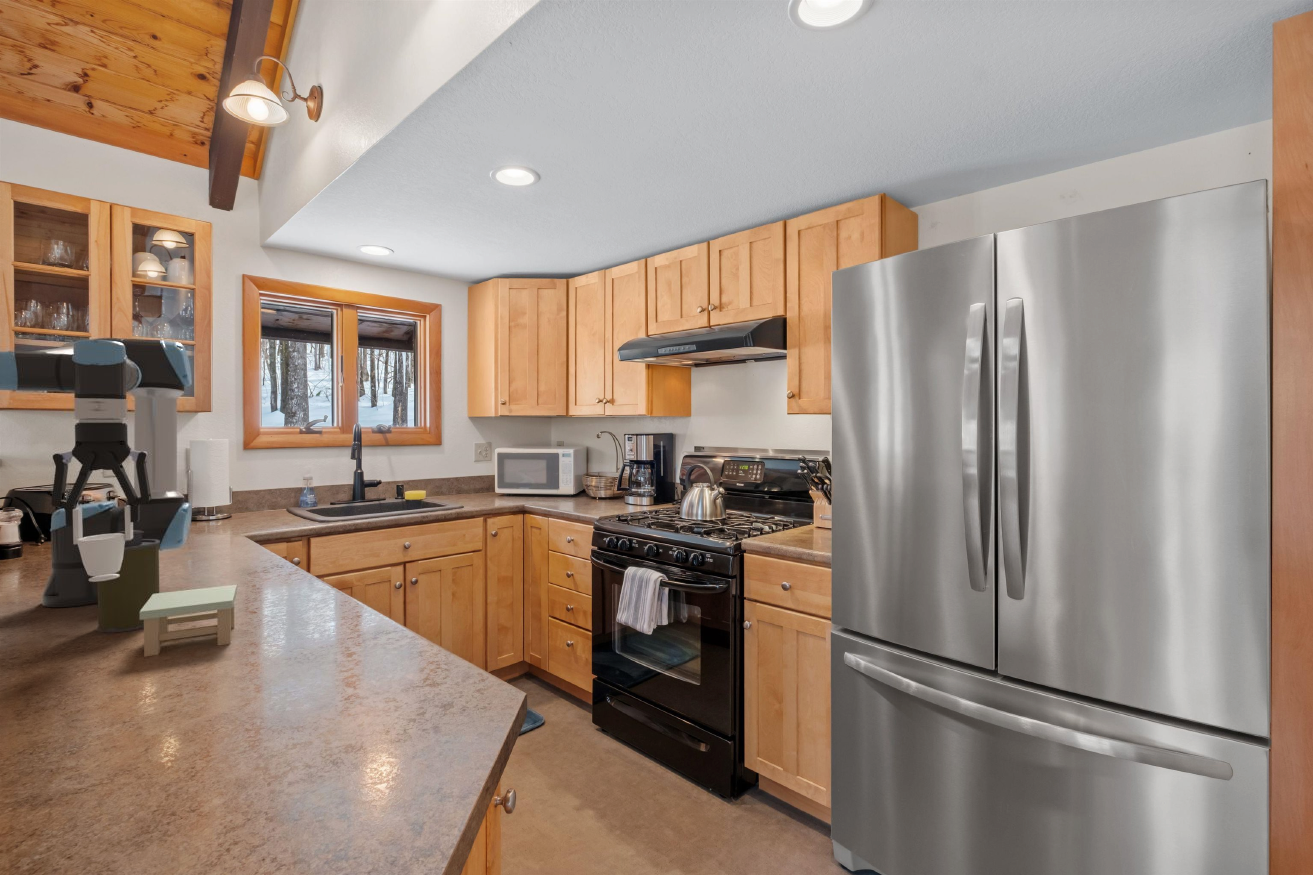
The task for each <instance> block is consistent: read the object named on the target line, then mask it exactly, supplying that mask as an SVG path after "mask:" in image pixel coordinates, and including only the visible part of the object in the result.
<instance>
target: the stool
mask: <svg viewBox="0 0 1313 875" xmlns="http://www.w3.org/2000/svg"><path fill="white" fill-rule="evenodd" d="M237 593H238V584H232V585H230V584H229V585H220V586H213V587H212V586H211V587H204V588H196V589H193V588H192V589H187V590H185V589H184V590H178V591H177V590H176V591H167V592H159V593H157V594H153V595H152V596H151V597H150V599H149V600H148V601H147V603H146V604H145V605H144V607H143V608H142V609H141V610H140V620H143V619H144V628H143V644H144V645H143V648H144V649H143V650H144V653H143V654H144V655H143V656H144V658H145V657H151V656H158V655H159V654H160V652H161V642H163V641H169V640H173V639H174V640H175V639H182V638H191V637H196V636H197V637H198V636H203V635H209V634H217V646H224V645H230V644H231V642H232V629H234V628H235V601H236V597H237ZM214 619H215V620H216V619H217V623H216V624H215V625H207V626H199V627H192V628H185V629H177V630H171V631H170V625H176V624H185V623H190V622H191V623H192V622H198V621H199V622H200V621H206V620H214Z"/></svg>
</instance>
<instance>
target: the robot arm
mask: <svg viewBox="0 0 1313 875" xmlns="http://www.w3.org/2000/svg"><path fill="white" fill-rule="evenodd" d="M192 378H193V377H192V370H191V365H190V360H189V356H188V352H187V351H186V347H185V346H184V345H183V344H182V343H180V342H178V341H173V340H172V341H171V340H163V339H142V338H141V339H137V338H118V337H100V338H99V337H98V338H91V339H78V340H76V341H70V342H67V343H64V344H62V345H61V346H59V347H58V348H56V347H55V348H50V349H49V348H47V349H42V350H33V351H13V350H8V351H7V350H6V351H5V350H1V351H0V391H12V392H17V391H18V392H20V391H21V392H22V391H23V392H25V391H26V392H27V391H28V392H29V391H30V392H69V393H70V392H72V393H74V395H73V396H74V398H73V399H74V400H73V401H74V402H73V403H74V404H73V406H74V407H73V408H74V409H73V410H74V419H75V420H76V421H77V420H78V422H76V423H75V424H74V444H75V445H74V446H73V448H72V450H71V451H67V452H59V453H58V452H57V453H53V454H52V460H53V462H54V465H55V469H54V470H55V471H54V478H53V479H54V480H53V486H52V487H53V488H52V497H51V502H50V503H51V506H52V507H57V508H60V509H57V510H56V511H54V512H53V513H52V514H51V522H50V529H49V531H50V546H51V573H50V575H49V577H48V580H47V583H46V585H45V587H44V590H43V593H42V595H41V596H42V597H41V600H42V601H41V602H42V603H41V604H42V606H43V607H46V608H69V607H71V608H72V607H77V606H85V605H86V606H87V605H92V604H98V581H96V582H92V581H89V579H90V578H92V577H95V576H89V575H88V574H87V572H86V569H85V567H84V565H83V561H82V558H81V554H80V550H79V547H78V543H77V540H78V539H80V538H84V537H88V536H95V535H101V534H114V533H116V532H121V531H125V540H131V539H132V538H133V530H140V531H143V532H144V533H143V534H142V539H156V540H159V541H160V543H159V552H163V551H165V550H173V549H180V548H182V546H183V545H185V543H186V541H187V539H188V537H189V533H190V529H191V523H192V517H193V516H192V514H193V512H192V511H193V510H192V509H193V506H192V504H191V503H189V502H185V496H184V495H183V494H182V493H180V491H178V455H177V454H178V399H179V398H180V397H181V396H183V395H185V387H186V388H187V387H191V385H192V384H193V383H192V382H193V381H192ZM127 393H128V394H130V395H131V396H132V398H134V416H133V417H134V420H133V421H134V422H133V423H134V438H133V439H134V444H133V446H134V448H133V449H134V450H132V448H131V447H130V446H129V441H128V439H129V438H128V436H129V435H128V424H127V423H126V422H124V420H125V421H126V420H127V419H128V399H127ZM129 456H130V457H131V458H132V461H133V462H134V463H133V464H134V465H133V470H134V471H133V481H134V482H133V484H132V482H131V481H130V478H129V476H128V475H127V471H126V470H125V467H124V465H123V463H125V461H126V460H127V459H128V457H129ZM72 458H75V459H76V460H77V461H78V462H79V463H80V464H81V467H80V469H79V472H78V475H77V477H76V480H75V482H74V484H73V486H72V488H71V491H70V493H69V496H68V497H67V499H66V500H65V496H66V488H67V479H68V472H69V464H70V463H71V462H72ZM100 470H105V471H111V472H112V473H113V475H114V477H115V478H116V480H117V482H118V484H119V486H120V488H121V489H122V492H123V494H124V496H125V503H126V504H125V505H122V506H117V503H116V502H115V501H114V500H109V501H99V502H91V503H86V504H79V505H78V503H79V501H80V499H81V497H82V494H83V493H84V490H85V488H86V486H87V484H88V481H89V479H90V477H91V475H92V473H93V471H100ZM133 485H134V486H133Z"/></svg>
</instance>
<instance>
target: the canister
mask: <svg viewBox="0 0 1313 875" xmlns="http://www.w3.org/2000/svg"><path fill="white" fill-rule="evenodd" d="M116 533H120V534H125V531H121V532H116ZM143 533H144V532H143V531H140V530H133V538H132V539H131V540H125V545H124V554H123V560H122V564H121V568H120V570H119V571H118V572H116V573H113V574H120V576H119V577H117V578H115V579H110V580H105V581H98V603H97V618H98V619H97V620H98V621H97V622H98V624H97V625H98V626H97V627H96V630H97V632H99V633H106V634H107V633H109V634H113V633H115V634H116V633H123V632H124V633H125V632H130V631H136V630H140V629H144V619H143V620H140V610H141V609H142V608H143V607H144V605H145V604H146V603H147V601H148V600H149V599H150V597H151V596H152V595H153V594H157V593H160V550H159V543H160V541H159V540H156V539H142V534H143Z"/></svg>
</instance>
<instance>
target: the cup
mask: <svg viewBox="0 0 1313 875" xmlns="http://www.w3.org/2000/svg"><path fill="white" fill-rule="evenodd" d="M77 543H78V547H79V550H80V554H81V558H82V561H83V565H84V567H85V569H86V572H87V574H88V575H89V576H95V577H92V578H90V579H89V581H92V582H96V581H105V580H110V579H115V578H117V577H119V576H120V574H113V573H116V572H118V571H119V570H120V568H121V564H122V560H123V554H124V545H125V534H120V533H114V534H101V535H95V536H88V537H84V538H80V539H78V540H77Z"/></svg>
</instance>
